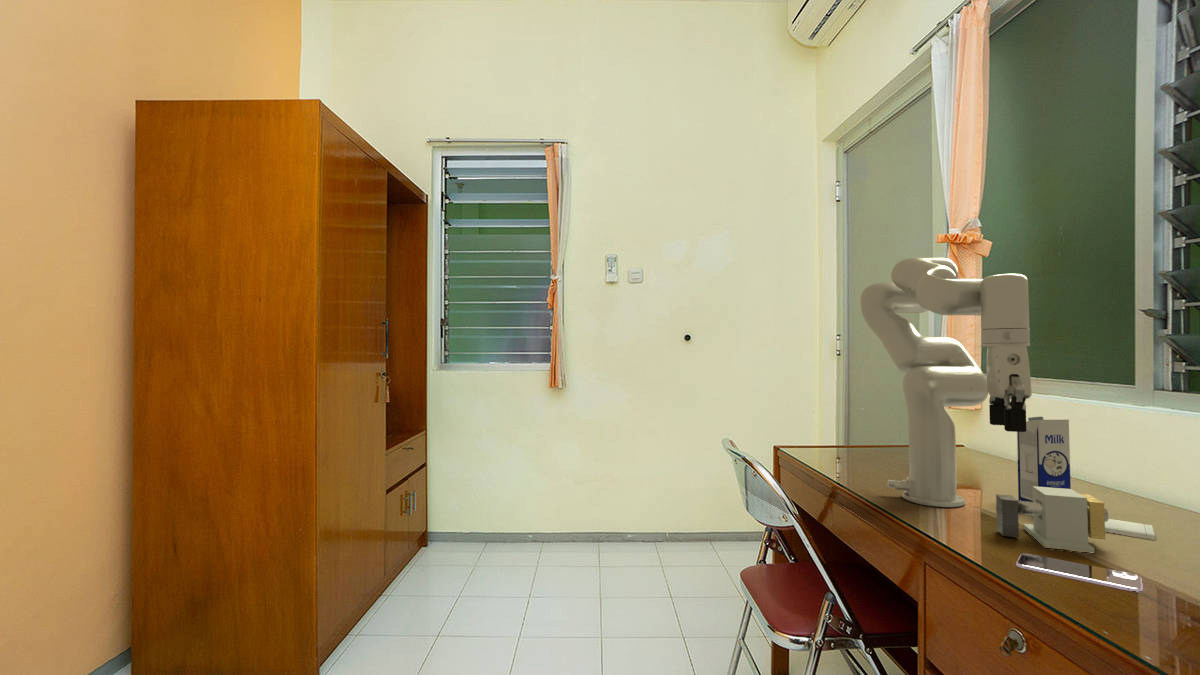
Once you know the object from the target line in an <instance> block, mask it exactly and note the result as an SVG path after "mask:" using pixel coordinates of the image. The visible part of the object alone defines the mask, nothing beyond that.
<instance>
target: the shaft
mask: <svg viewBox="0 0 1200 675" xmlns="http://www.w3.org/2000/svg"><path fill="white" fill-rule="evenodd" d="M995 495H996V496H995V503H996V504H995V506H996V531H997V532H999V533H1000V535H1001V536H1002V537H1010V538H1011V537H1012V538H1019V537H1020V535H1019V534H1020V532H1019V531H1020V528H1019V526H1020V525H1019V515H1027V516H1033V515H1036V516H1042V503H1038V502H1026V501H1019V499H1018V498H1015V497H1014V496H1013V495H1009V494H995ZM1104 513H1105V522H1107V521H1108V519H1109V512H1108V509H1107V508H1106V507H1104Z"/></svg>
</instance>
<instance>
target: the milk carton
mask: <svg viewBox="0 0 1200 675" xmlns="http://www.w3.org/2000/svg"><path fill="white" fill-rule="evenodd" d="M1016 446H1017V448H1016V450H1017V453H1016V454H1017V491H1018V496H1017V500H1018V501H1019V500H1021V501H1026V502H1033V488H1032V486H1036V487H1050V488H1064V489H1072V488H1071V459H1070V458H1071V455H1070V454H1071V453H1070V452H1071V451H1070V450H1071V449H1070V448H1071V447H1070V419H1044V417H1043V416H1032V417H1028V420H1026V432H1016Z"/></svg>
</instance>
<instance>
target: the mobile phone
mask: <svg viewBox="0 0 1200 675" xmlns="http://www.w3.org/2000/svg"><path fill="white" fill-rule="evenodd" d="M1015 566H1016V567H1018V568H1021V569H1024V570H1028V571H1034V572H1038V573H1043V574H1047V575H1052V576H1056V577H1057V576H1058V577H1062V578H1067V579H1072V580H1076V581H1081V582H1085V583H1090V584H1094V585H1099V586H1105V587H1108V588H1109V587H1110V588H1113V589H1119V590H1122V591H1127V592H1132V591H1136V592H1135V593H1140V592H1139V591H1143V592H1144V584H1143V583H1142V581H1143V577H1141V576H1140V575H1138V574H1134V573H1133V572H1125V571H1121V570H1115V569H1109V568H1104V567H1099V566H1095V565H1089V564H1085V563H1080V562H1074V561H1069V560H1063V559H1058V558H1053V557H1047V556H1044V555H1038V554H1034V553H1033V554H1032V553H1028V552H1026V553H1025V552H1024V553H1020V555H1019V556H1018V559H1017V560H1016V563H1015Z"/></svg>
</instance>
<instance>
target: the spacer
mask: <svg viewBox="0 0 1200 675" xmlns="http://www.w3.org/2000/svg"><path fill="white" fill-rule="evenodd" d="M1080 494H1081V495H1082V496H1084V497H1086V498H1087V518H1088V538H1091V539H1095V540H1106V532H1105V513H1104V508H1105V502H1103V501H1102V500H1100V499H1098V498H1096V497H1094V496H1092V495H1091V494H1087V493H1086V494H1085V493H1080Z"/></svg>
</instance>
